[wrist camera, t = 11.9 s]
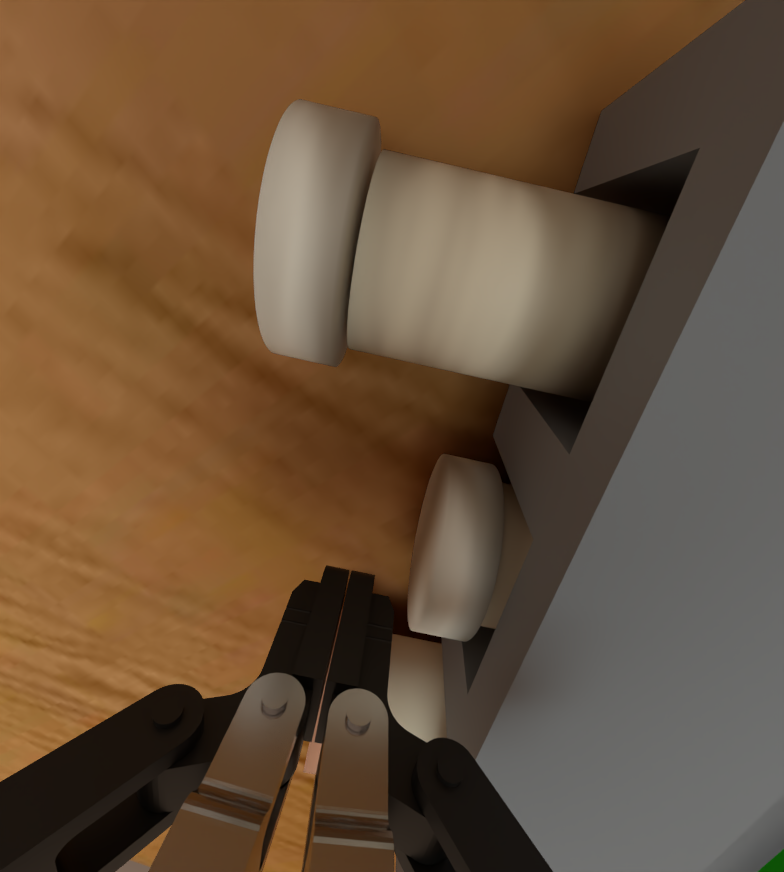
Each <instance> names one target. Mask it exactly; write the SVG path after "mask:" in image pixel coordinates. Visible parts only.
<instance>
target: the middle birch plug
mask: <svg viewBox="0 0 784 872" xmlns="http://www.w3.org/2000/svg"><path fill="white" fill-rule="evenodd" d="M532 542H533V538H532V535H531V533H530V530H529V527H528V525H527V522H526V520H525V517H524V515H523V512H522V509H521V507H520V504H519V502H518V499H517V497H516V494H515V492H514V489H513V486H512V485H511V484H506V483H502V481H501V477H500V474H499V472H498V469H497V468H496V467H495V466H494V465H493V464H489V463H485V462H480V461H476V460H471V459H466V458H462V457H457V456H452V455H448V454H442V455H441V456H440V457H439V459H438V460H437V462H436V464H435V467H434V469H433V471H432V474H431V477H430V480H429V483H428V486H427V490H426V493H425V497H424V500H423V504H422V508H421V513H420V517H419V522H418V526H417V531H416V537H415V542H414V548H413V554H412V561H411V568H410V577H409V587H408V605H407V612H408V624H409V627H410V630H411V631H414V632H419V633H424V634H429V635H434V636H439V637H444V638H449V639H454V640H459V641H464V642H466V641H469V640H470V639H471V638H473V637H474V635H475V634H476V633H477V631H478V629H479V628H480V626H483V627H488V628H493V629H496V627H497V624H498V622H499V619H500V617H501V615H502V612H503V610H504V608H505V605H506V603H507V601H508V598H509V596H510V594H511V591H512V589H513V587H514V584H515V582H516V579H517V577H518V575H519V572H520V570H521V568H522V565H523V563H524V561H525V558H526V556H527V554H528V551H529V549H530V547H531V544H532Z"/></svg>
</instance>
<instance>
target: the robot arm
mask: <svg viewBox="0 0 784 872" xmlns="http://www.w3.org/2000/svg"><path fill="white" fill-rule="evenodd" d="M348 576H349V570H346V569H342V568H337V567H332V566H327V565H326V567H325V570H324V573H323V576H322V580H321V583H318V582H313V581H308V580H304V581H303V582H302V583H301V584H300V585H299V586H298V587H297V588H296V589H294V590H293V592H292V594H291V597H290V599H289V602H288V605H287V608H286V610H285V612H284V615H283V618H282V621H281V623H280V625H279V628H278V631H277V633H276V636H275V638H274V641H273V644H272V646H271V649H270V651H269V654H268V657H267V659H266V662H265V664H264V667H263V669H262V671H261V673H260V675H259V676H258V678H257V679H256V680H255V681H254V682H253V683H252V684H251V685H250V686H248V687H247V688H245V689H244V690H242V691H240V692H238V693H235V694H232V695H227V696H221V697H214V698H206V699H203V698H202V696H201V694H200V693H199V692H198V691H197V690H196V689H195V688H193V687H191V686H188V685H184V684H173V685H168V686H165V687H162V688H160V689H158V690H156V691H154V692H152V693H151V694H149V695H147V696H145V697H144V698H142V699H140V700H139V701H137V702H135V703H134V704H132V705H130V706H128V707H127V708H125V709H123V710H122V711H120V712H118V713H117V714H115V715H113V716H112V717H110V718H108V719H106V720H105V721H103V722H101V723H100V724H98V725H96V726H95V727H93V728H91V729H89V730H88V731H86V732H84V733H83V734H81V735H79V736H78V737H76V738H74V739H72V740H71V741H69V742H67V743H66V744H64V745H62V746H61V747H59V748H57V749H55V750H54V751H52V752H50V753H49V754H47V755H45V756H44V757H42V758H40V759H39V760H37V761H35V762H33V763H32V764H30V765H28V766H27V767H25V768H23V769H22V770H20V771H18V772H16V773H15V774H13V775H11V776H10V777H8V778H6V779H5V780H3V781H1V782H0V872H115V871H117V870H118V869H119V868H120V867H121V866H123V865H124V864H125V863H126V862H127V861H129V860H130V859H131V858H132V857H134V856H135V855H136V854H137V853H138V852H140V851H141V850H142V849H143V848H144V847H146V846H147V845H148V844H149V843H150V842H152V841H153V840H154V839H155V838H157V837H158V836H159V835H160V834H161V833H163V832H164V831H165V830H166V829H167V828H169V827H170V826H171V825H172V826H171V828H170V830H169V832H168V834H167V836H166V838H165V840H164V842H163V844H162V846H161V848H160V850H159V852H158V854H157V856H156V857H155V859H154V861H153V863H152V865H151V867H150V870H149V871H148V872H262V871H263V868H264V865H265V862H266V858H267V855H268V852H269V849H270V846H271V843H272V840H273V837H274V833H275V830H276V827H277V824H278V821H279V818H280V815H281V812H282V808H283V805H284V802H285V799H286V796H287V793H288V790H289V786H290V783H291V780H292V777H293V774H294V772H295V770H296V767H297V764H298V760H299V756H300V752H301V748H302V744H303V740H304V741H309V742H312V738H313V734H314V729H315V725H316V721H317V716H318V712H319V708H320V703H321V699H322V695H323V690H324V686H325V681H326V677H327V681H326V686H325V691H324V696H323V701H322V706H321V711H320V716H319V721H318V726H317V731H316V736H315V743H320V744H322V746H321V751H320V755H319V760H318V765H317V770H316V775H315V780H314V786H313V793H312V800H311V807H310V814H309V821H308V828H307V835H306V842H305V849H304V856H303V863H302V870H301V872H394V852H395V854H396V857H397V859H398V861H399V863H400V865H401V867H402V869H403V871H404V872H553V871H552V869H551V868H550V866H549V865H548V864H547V862H546V861H545V859H544V858H543V856H542V855H541V854H540V852H539V851H538V849H537V848H536V846H535V845H534V844H533V842H532V841H531V839H530V838H529V836H528V835H527V834H526V832H525V831H524V829H523V828H522V826H521V825H520V823H519V822H518V821H517V819H516V818H515V816H514V815H513V813H512V812H511V811H510V809H509V808H508V806H507V805H506V803H505V802H504V801H503V799H502V798H501V796H500V795H499V793H498V792H497V791H496V789H495V788H494V786H493V785H492V783H491V782H490V781H489V779H488V778H487V776H486V775H485V773H484V772H483V771H482V769H481V768H480V766H479V765H478V763H477V762H476V761H475V759H474V758H473V756H472V755H471V754H470V752H469V751H468V750H467V749H466V748H465V747H464V746H463V745H461V744H460V743H458V742H456V741H455V740H452V739H449V738H435V739H432V740H430V741H429V742H425V741H423V740H422V739H420V738H418V737H417V736H415V735H413V734H412V733H410V732H408V731H407V730H406V729H404V728H403V727H402V726H401V725H400V724H399V723H398V722H397V721H396V719H395V718H394V716H393V715H392V713H391V710H390V708H389V704H388V698H387V693H388V681H389V669H390V657H391V645H392V644H391V642H392V633H393V631H392V630H393V621H394V610H393V607H392V604H391V602H390V599H389V597H388V596H383V595H378V594H373V593H372V591H373V584H374V577H375V575H372V574H367V573H362V572H357V571H351V575H350V579H349V584H348V588H347V593H346V597H345V601H344V596H345V591H346V586H347V581H348ZM343 601H344V606H343ZM342 606H343V610H342ZM341 611H342V615H341ZM340 615H341V619H340ZM339 620H340V623H339ZM338 625H339V628H338ZM337 629H338V632H337ZM336 633H337V637H336ZM335 638H336V641H335ZM334 642H335V645H334ZM333 647H334V650H333ZM332 651H333V654H332ZM331 655H332V659H331ZM330 660H331V663H330ZM329 664H330V667H329ZM328 668H329V672H328ZM327 673H328V676H327Z"/></svg>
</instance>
